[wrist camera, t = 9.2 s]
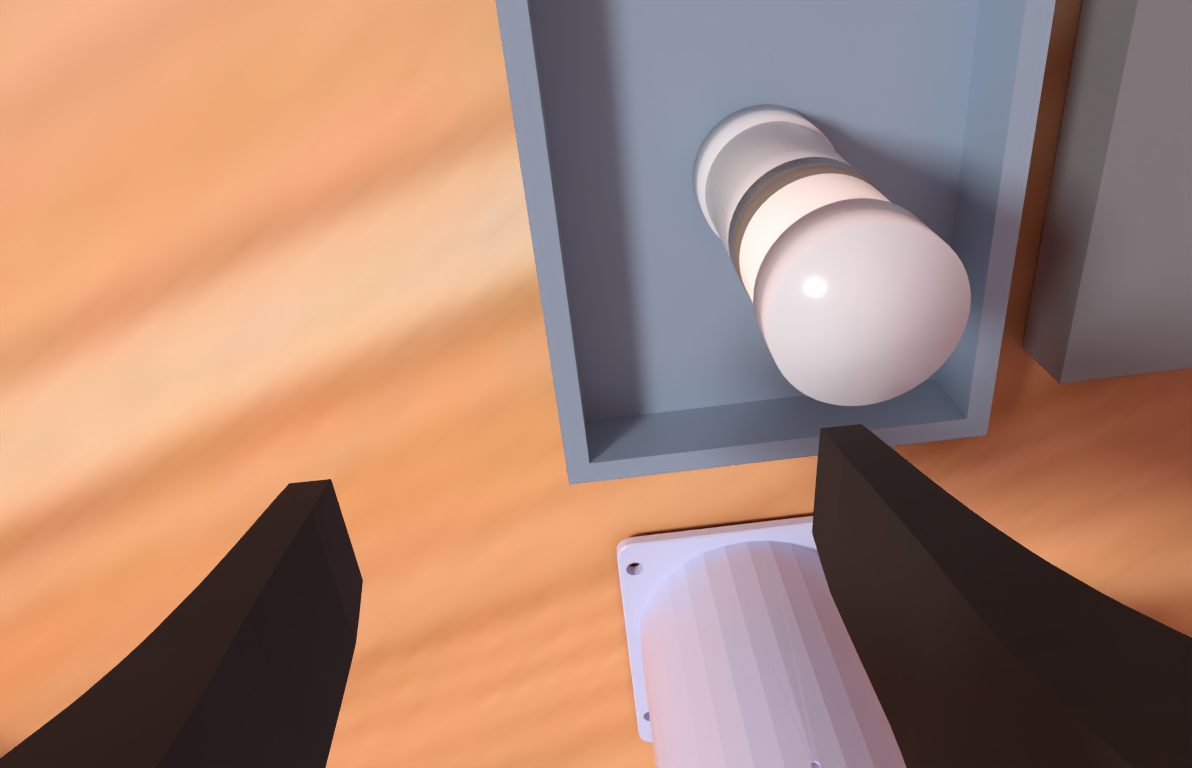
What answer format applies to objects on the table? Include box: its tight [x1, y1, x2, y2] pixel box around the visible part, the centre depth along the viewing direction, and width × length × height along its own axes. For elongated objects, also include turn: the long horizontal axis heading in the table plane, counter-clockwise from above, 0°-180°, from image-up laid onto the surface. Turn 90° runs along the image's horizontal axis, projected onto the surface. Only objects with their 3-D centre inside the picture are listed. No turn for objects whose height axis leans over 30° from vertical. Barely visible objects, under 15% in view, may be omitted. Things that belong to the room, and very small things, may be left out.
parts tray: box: [496, 0, 1056, 485], centre depth 20 cm, size 14×11×2 cm
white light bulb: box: [693, 104, 971, 406], centre depth 17 cm, size 3×3×8 cm
